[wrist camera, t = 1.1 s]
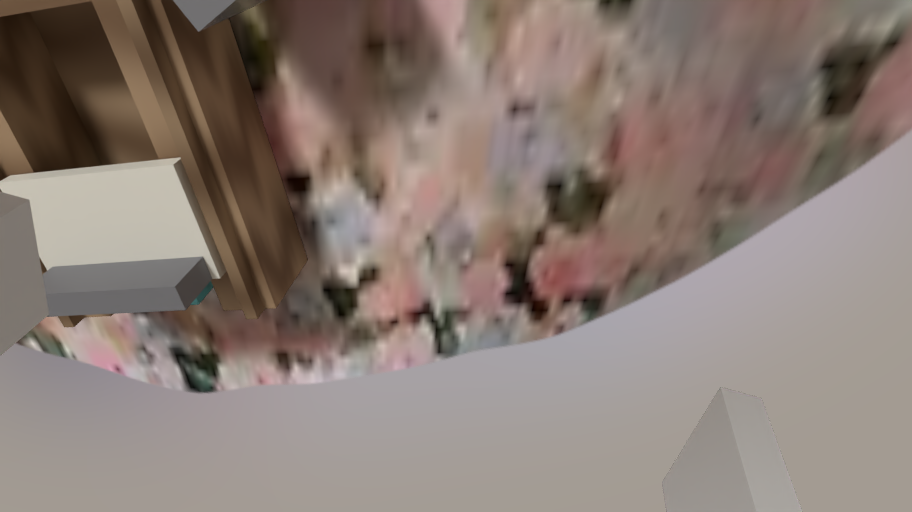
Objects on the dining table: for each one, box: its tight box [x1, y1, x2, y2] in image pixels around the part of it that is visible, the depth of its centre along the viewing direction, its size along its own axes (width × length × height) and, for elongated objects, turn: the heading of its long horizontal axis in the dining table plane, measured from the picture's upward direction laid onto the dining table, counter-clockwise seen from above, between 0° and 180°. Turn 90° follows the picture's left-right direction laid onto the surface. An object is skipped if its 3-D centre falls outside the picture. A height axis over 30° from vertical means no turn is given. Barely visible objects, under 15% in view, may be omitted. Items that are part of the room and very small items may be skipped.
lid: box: [0, 157, 226, 317], centre depth 35 cm, size 7×11×4 cm, turn 99°
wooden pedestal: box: [0, 0, 308, 327], centre depth 37 cm, size 19×15×6 cm
